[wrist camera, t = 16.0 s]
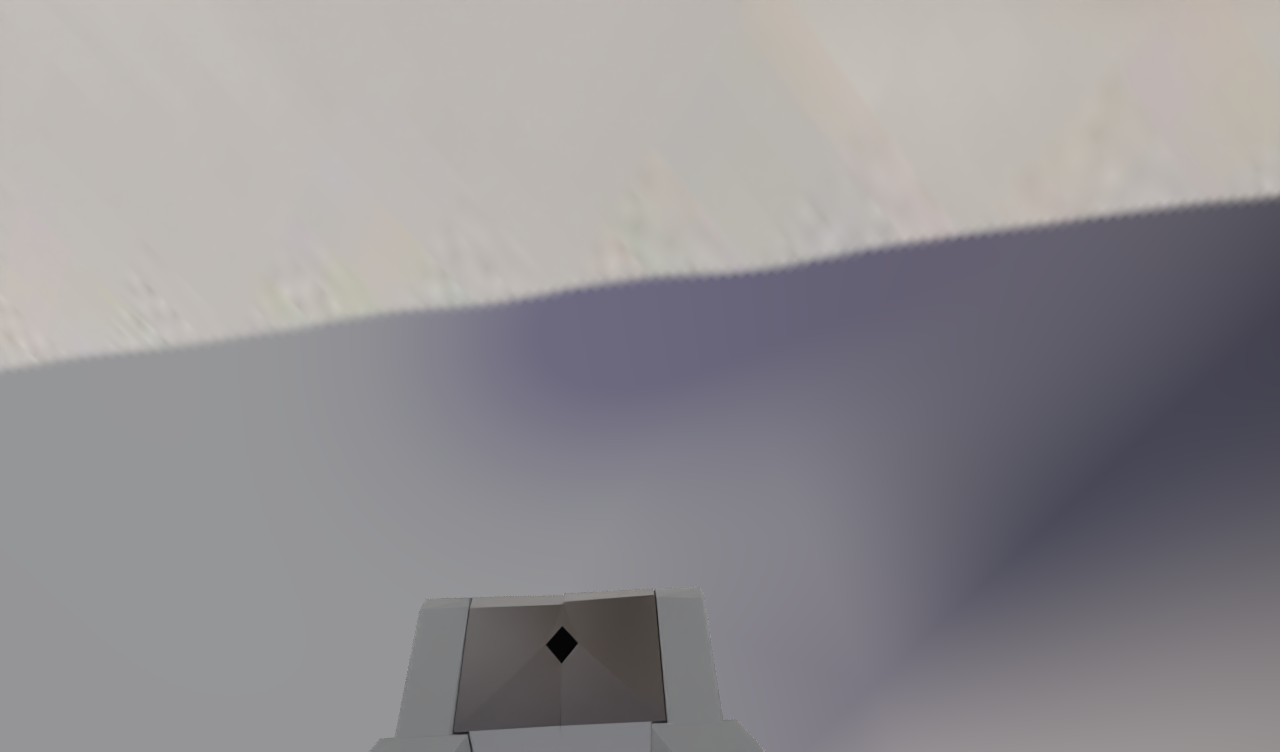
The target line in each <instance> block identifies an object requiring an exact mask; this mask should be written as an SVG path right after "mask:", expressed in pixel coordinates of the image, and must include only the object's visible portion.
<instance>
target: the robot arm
mask: <svg viewBox="0 0 1280 752" xmlns="http://www.w3.org/2000/svg"><path fill="white" fill-rule="evenodd" d="M369 752H766V751H765V750H764V749H763V748H762V747H761V746H760V745H759V743H758V742H757V741H756V740H755V739H754V738H753V737H752V735H751V734H750V733H749V732H748V731H747V730H746V729H745V728H744V726H743V725H742V724H741V723H740V722H739V721H738V720H723V715H722V709H721V702H720V696H719V689H718V683H717V677H716V670H715V664H714V658H713V651H712V645H711V638H710V631H709V625H708V618H707V612H706V605H705V599H704V594H703V592H702V591H701V589H700V587H686V588H666V589H655V591H653V589H635V590H619V591H602V592H584V593H568V594H564V595H553V596H551V595H550V596H506V597H505V596H504V597H473V598H442V599H425V602H424V603H423V605H422V607H421V609H420V611H419V615H418V620H417V626H416V630H415V636H414V641H413V646H412V651H411V656H410V661H409V667H408V671H407V677H406V682H405V687H404V693H403V698H402V702H401V708H400V713H399V718H398V723H397V728H396V733H395V738H384V739H379V741H378V742H377V743H376V744H375V745H374V746H373V747H372V749H371V750H370V751H369Z"/></svg>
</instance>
